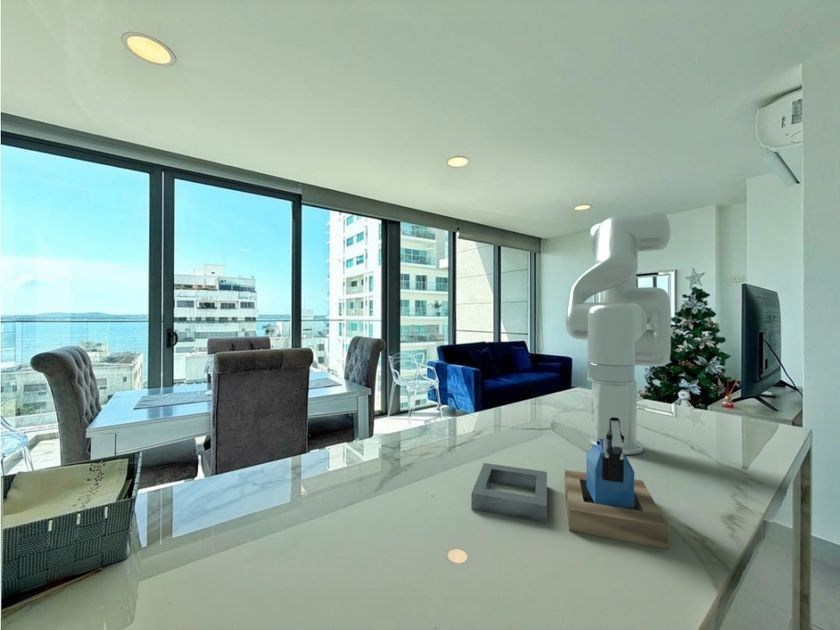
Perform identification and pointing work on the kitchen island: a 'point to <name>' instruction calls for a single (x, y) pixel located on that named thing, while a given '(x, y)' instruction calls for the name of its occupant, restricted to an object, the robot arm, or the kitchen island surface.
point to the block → (508, 501)
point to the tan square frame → (615, 514)
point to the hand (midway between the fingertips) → (609, 470)
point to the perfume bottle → (608, 490)
